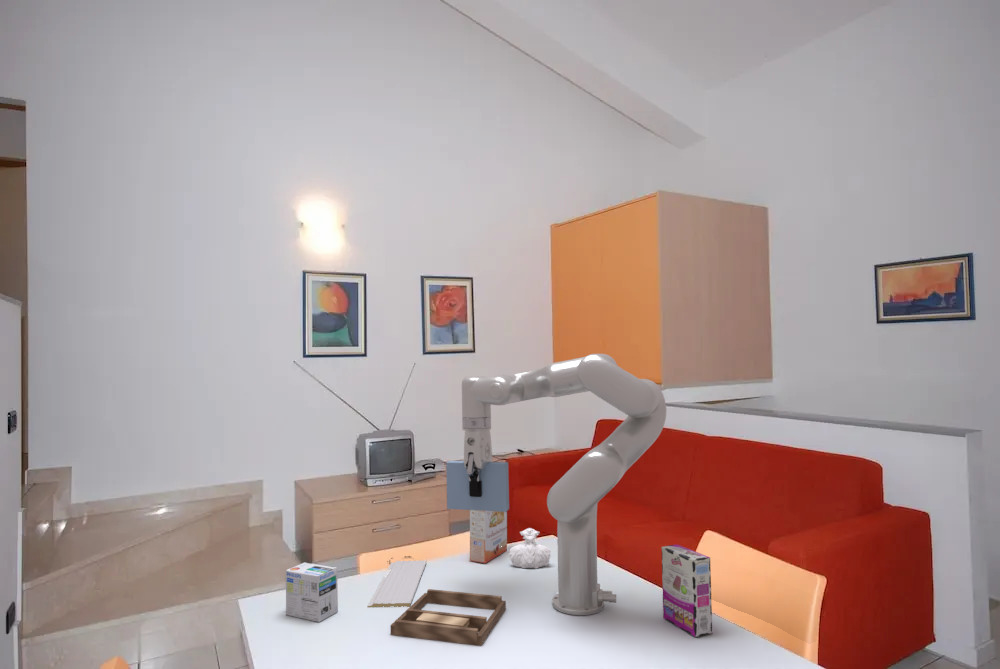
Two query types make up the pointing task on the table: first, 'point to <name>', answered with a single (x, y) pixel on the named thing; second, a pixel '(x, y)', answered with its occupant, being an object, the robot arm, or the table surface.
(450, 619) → the tan rectangular block
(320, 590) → the light bulb box
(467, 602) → the rack
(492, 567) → the table surface
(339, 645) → the table surface
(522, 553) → the tied white plastic bag
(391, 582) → the baseboard molding
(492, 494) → the blue rectangular block
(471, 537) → the cracker box
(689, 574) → the candy bar box
